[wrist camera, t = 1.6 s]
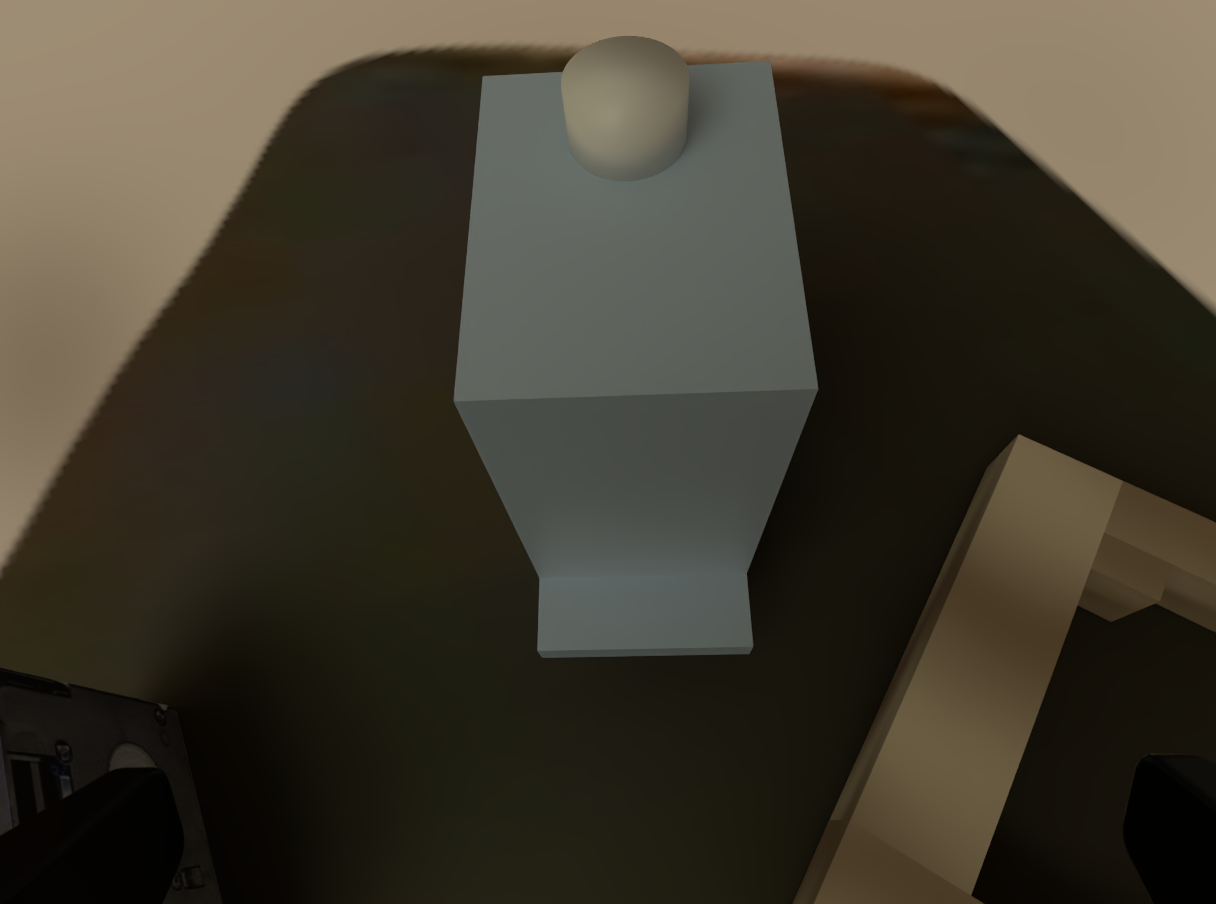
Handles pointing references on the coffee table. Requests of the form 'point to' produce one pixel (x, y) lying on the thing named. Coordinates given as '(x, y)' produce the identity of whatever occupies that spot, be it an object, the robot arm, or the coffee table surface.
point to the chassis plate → (997, 667)
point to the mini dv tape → (96, 760)
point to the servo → (635, 340)
